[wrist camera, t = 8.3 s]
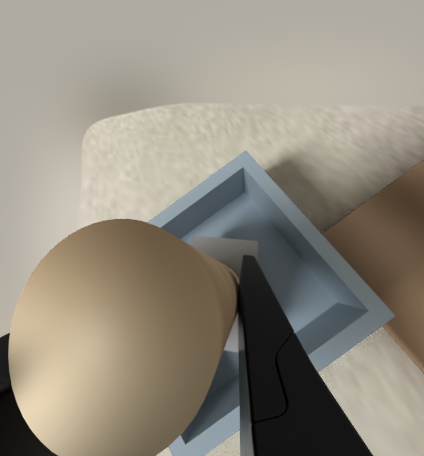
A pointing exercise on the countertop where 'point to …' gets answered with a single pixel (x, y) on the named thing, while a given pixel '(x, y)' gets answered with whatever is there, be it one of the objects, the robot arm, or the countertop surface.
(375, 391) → the countertop surface
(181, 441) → the box
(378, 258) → the far plate
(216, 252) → the rubber stamp
